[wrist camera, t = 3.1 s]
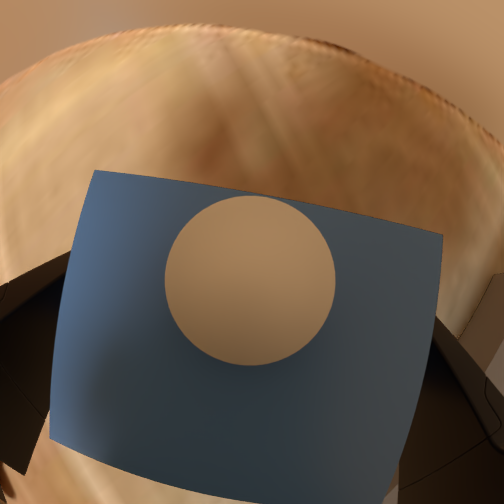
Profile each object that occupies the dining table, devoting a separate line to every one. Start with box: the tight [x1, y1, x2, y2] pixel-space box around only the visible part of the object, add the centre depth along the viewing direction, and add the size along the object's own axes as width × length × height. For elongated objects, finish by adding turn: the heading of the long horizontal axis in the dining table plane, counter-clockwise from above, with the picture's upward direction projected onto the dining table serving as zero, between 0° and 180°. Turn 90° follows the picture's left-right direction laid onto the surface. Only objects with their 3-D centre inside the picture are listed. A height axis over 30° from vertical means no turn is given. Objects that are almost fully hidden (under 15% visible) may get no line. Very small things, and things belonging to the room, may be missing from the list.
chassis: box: [382, 273, 504, 504], centre depth 12 cm, size 18×14×4 cm
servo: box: [50, 170, 443, 504], centre depth 9 cm, size 4×9×14 cm, turn 79°
